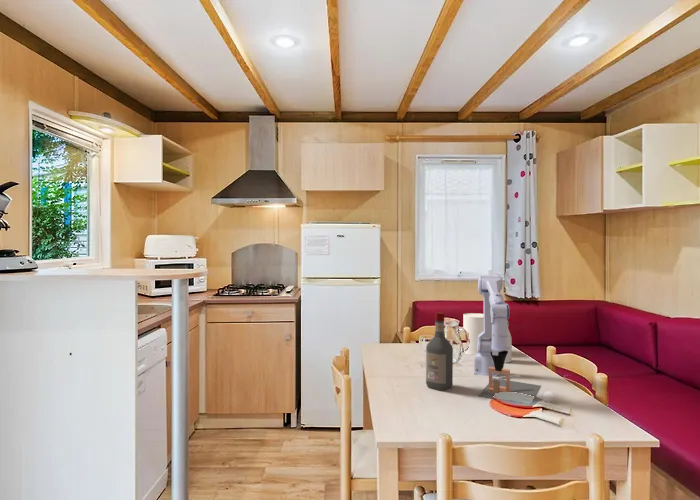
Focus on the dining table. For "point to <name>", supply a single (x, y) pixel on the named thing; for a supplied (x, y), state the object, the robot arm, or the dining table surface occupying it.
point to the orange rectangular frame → (503, 371)
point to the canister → (473, 329)
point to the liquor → (439, 358)
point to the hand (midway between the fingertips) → (499, 370)
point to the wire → (497, 383)
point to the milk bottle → (509, 344)
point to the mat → (513, 388)
